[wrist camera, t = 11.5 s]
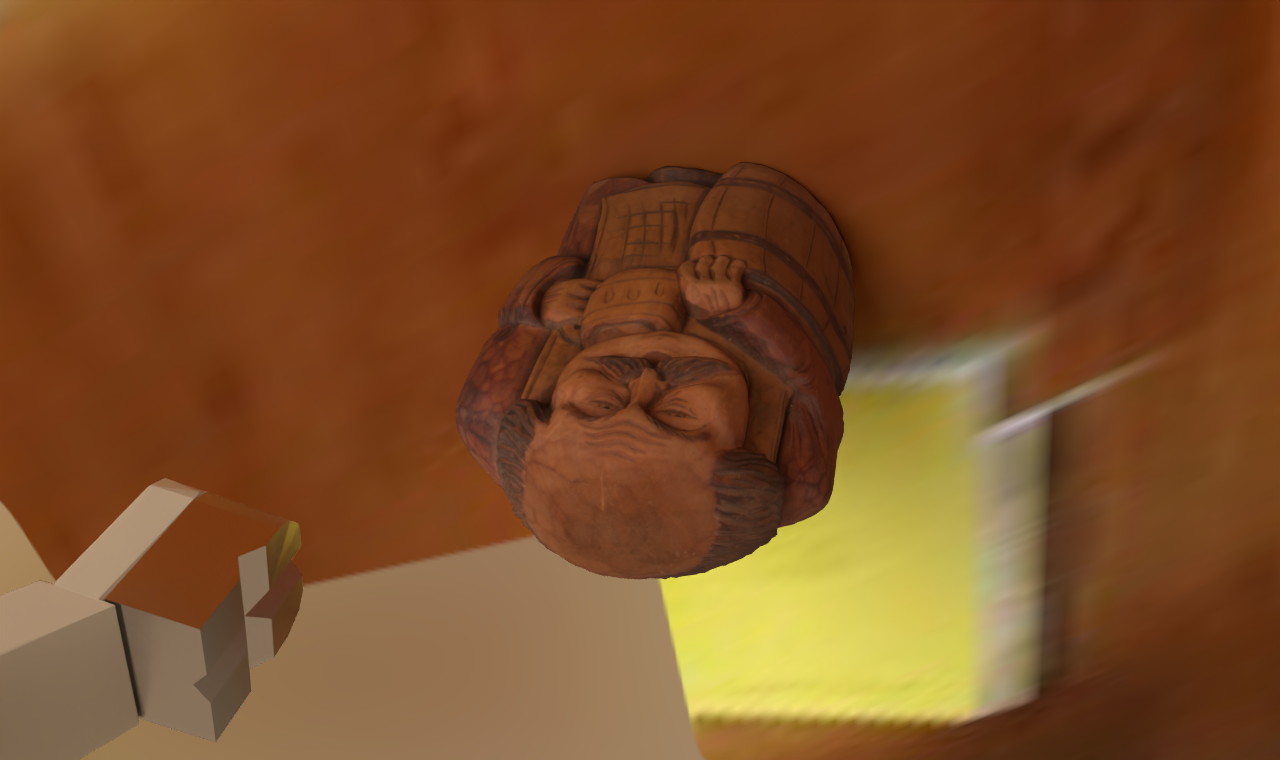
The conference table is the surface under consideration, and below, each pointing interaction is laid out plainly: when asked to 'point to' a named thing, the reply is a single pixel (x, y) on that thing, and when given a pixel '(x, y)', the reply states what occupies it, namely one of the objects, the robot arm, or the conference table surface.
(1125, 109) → the conference table surface
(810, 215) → the wooden figurine
